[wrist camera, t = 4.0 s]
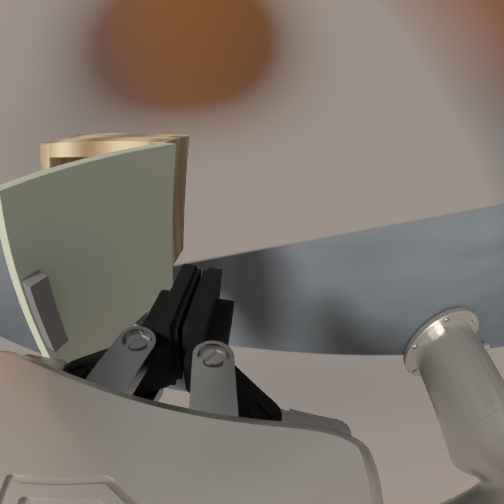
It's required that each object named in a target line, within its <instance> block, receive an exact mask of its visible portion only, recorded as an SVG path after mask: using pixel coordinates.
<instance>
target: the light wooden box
mask: <svg viewBox="0 0 504 504" xmlns="http://www.w3.org/2000/svg"><path fill="white" fill-rule="evenodd" d="M158 143H174V144H176V154H175V170H174V190H173V228H172V264H173V265H174V263H175V261H176V260H177V258H178V256H179V255H180V253H181V251H182V250H183V230H184V204H185V203H184V202H185V185H186V169H187V156H188V143H189V136H188V135H172V134H171V135H170V134H141V133H140V134H139V133H137V134H136V133H121V134H120V133H114V134H83V135H76V136H71V137H67V138H63V139H59V140H55V141H51V142H47V143H43V144H40V157H41V171H42V170H45V169H49V168H52V167H55V166H59V165H62V164H66V163H69V162H73V161H77V160H81V159H85V158H89V157H93V156H97V155H101V154H106V153H110V152H115V151H120V150H125V149H130V148H135V147H140V146H146V145H152V144H158Z"/></svg>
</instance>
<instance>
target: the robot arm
mask: <svg viewBox="0 0 504 504" xmlns="http://www.w3.org/2000/svg"><path fill="white" fill-rule="evenodd" d="M221 275H222V269H216V268H209V269H208V271H207V270H204V271H203V274H202V276H201V270H200V269H197V266H196V265H189V264H184V265H183V266H182V268H181V270H180V272H179V274H178V276H177V278H176V280H175V282H174V284H173V286H172V288H171V290H170V291H169V290H161V292H160V293H159V295H158V297H157V299H156V301H155V303H154V304H153V306H152V308H151V310H150V312H149V314H148V316H147V318H146V320H145V322H144V324H143V326H142V327H141V326H134V327H130V328H127V329H125V330H124V331H123V332H122V333H121V334H120V335H119V336H118V337H117V339H116V340H115V341H114V342H113V344H112V345H111V346H110V348H107V349H104V350H101V351H98V352H95V353H93V354H90V355H87V356H84V357H81V358H78V359H75V360H73V361H71V362H69V363H67V362H66V360H60V359H54V358H48V357H42V356H36V355H31V354H26V355H21V354H18V353H14V352H9V351H0V504H383V498H382V490H381V485H380V480H379V475H378V471H377V468H376V464H375V462H374V459H373V456H372V454H371V452H370V450H369V449H368V448H367V446H366V445H365V444H364V443H363V442H361V441H360V440H358V439H356V438H354V437H352V436H351V430H350V428H349V427H348V425H347V424H345V423H344V422H343V421H340V420H338V419H332V418H328V417H323V416H318V415H314V414H309V413H305V412H301V411H297V410H293V409H290V410H289V411H287V410H283V409H280V408H279V407H278V405H277V404H276V403H275V402H273V400H272V399H270V398H269V397H268V396H267V395H266V394H265V393H264V392H263V391H262V390H260V389H259V388H258V387H257V386H256V385H255V384H254V383H253V382H252V381H251V380H250V379H249V378H247V376H246V375H245V374H243V373H242V372H241V371H240V370H239V369H238V368H237V367H236V366H235V361H234V354H233V351H232V350H231V348H230V347H229V346H228V343H229V337H230V331H231V324H232V317H233V309H234V301H230V300H223V299H219V298H220V286H221ZM478 328H479V321H478V318H477V316H476V315H475V313H474V312H473V311H472V310H471V309H468V308H466V307H457V308H452V309H449V310H446V311H444V312H442V313H440V314H438V315H437V316H435V317H433V318H432V319H430V320H429V321H428V322H427V323H425V324H424V325H423V326H422V327H421V328H420V329H419V330H418V331H417V332H416V333H415V335H414V336H413V337H412V338H411V340H410V342H409V343H408V345H407V347H406V349H405V352H404V363H405V366H406V368H407V370H408V371H409V372H410V373H411V374H414V375H418V376H422V379H423V381H424V383H425V386H426V389H427V391H428V394H429V396H430V399H431V402H432V404H433V407H434V410H435V412H436V415H437V418H438V421H439V424H440V427H441V430H442V433H443V436H444V439H445V442H446V445H447V449H448V452H449V455H450V458H451V461H452V462H453V464H454V465H455V466H456V468H458V469H459V470H461V471H463V472H465V473H468V474H470V475H473V476H475V477H477V478H479V480H480V481H479V483H478V484H476V485H475V486H473V487H472V488H470V489H468V490H467V491H465V492H463V493H461V494H459V495H457V496H455V497H453V498H451V499H449V500H447V501H445V502H443V503H440V504H504V381H503V379H502V377H501V375H500V373H499V372H498V370H497V368H496V366H495V365H494V363H493V361H492V360H491V358H490V356H489V355H488V353H487V351H488V350H489V348H490V344H489V343H488V342H483V343H482V342H481V340H480V338H479V337H478V335H477V333H478ZM183 373H184V377H185V385H186V389H187V391H188V392H189V393H190V405H189V409H188V408H183V407H178V406H174V405H169V404H165V403H161V402H159V400H160V398H161V396H162V394H163V388H165V387H167V386H169V385H175V384H176V381H177V379H182V376H183Z"/></svg>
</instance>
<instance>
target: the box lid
mask: <svg viewBox="0 0 504 504" xmlns="http://www.w3.org/2000/svg"><path fill="white" fill-rule="evenodd" d="M175 154H176V144H174V143H158V144H152V145H146V146H140V147H135V148H130V149H125V150H120V151H115V152H110V153H106V154H101V155H97V156H93V157H89V158H85V159H81V160H77V161H73V162H69V163H66V164H62V165H59V166H55V167H52V168H49V169H45V170H42V171H39V172H36V173H33V174H30V175H27V176H24V177H21V178H18V179H15V180H13V181H10V182H7V183H5V184H2V185H0V238H1V243H2V247H3V251H4V255H5V258H6V262H7V266H8V269H9V272H10V276H11V279H12V282H13V285H14V288H15V291H16V294H17V297H18V299H19V302H20V305H21V307H22V310H23V312H24V315H25V317H26V320H27V322H28V325H29V327H30V329H31V332H32V334H33V336H34V338H35V340H36V343H37V345H38V347H39V349H40V351H41V353H42V355H43V357H48V358H54V359H60V360H66V362H67V363H69V362H71V361H73V360H75V359H78V358H81V357H84V356H87V355H90V354H93V353H95V352H98V351H101V350H104V349H107V348H110V346H111V345H112V344H113V342H114V341H115V340H116V339H117V337H118V336H119V335H120V334H121V333H122V332H123V331H124V330H125V329H127V328H130V327H132V326H133V325H134V324H135V323H136V322H137V321H138V320H139V319H140V318H141V317H142V316H143V315H144V314H145V313H146V312H147V311H148V310H149V309H150V308H151V307H152V306H153V304H154V303H155V301H156V299H157V297H158V295H159V293H160V292H161V290H170V289H171V288H172V286H173V264H172V228H173V190H174V170H175Z"/></svg>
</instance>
